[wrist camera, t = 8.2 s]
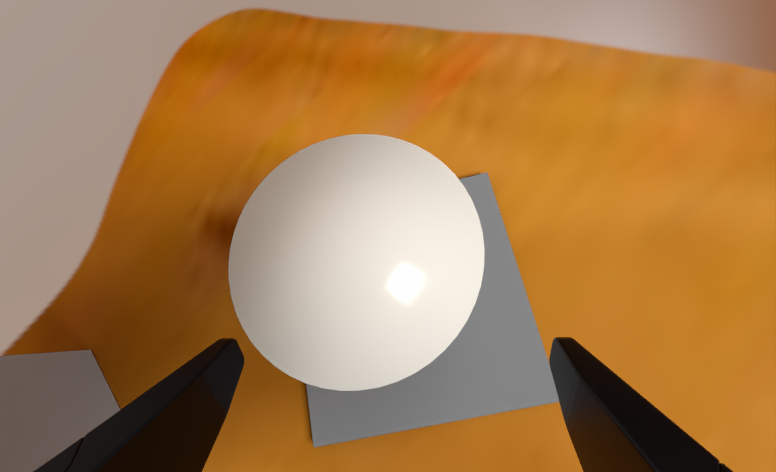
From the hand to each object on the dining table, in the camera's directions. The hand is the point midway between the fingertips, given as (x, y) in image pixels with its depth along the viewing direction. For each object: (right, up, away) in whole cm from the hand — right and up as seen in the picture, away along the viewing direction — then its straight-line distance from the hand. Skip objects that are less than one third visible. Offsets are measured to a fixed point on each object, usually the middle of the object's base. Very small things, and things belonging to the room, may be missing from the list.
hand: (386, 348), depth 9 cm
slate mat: (+1, 0, +8) cm, 9 cm away
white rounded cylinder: (+1, 0, +8) cm, 8 cm away
